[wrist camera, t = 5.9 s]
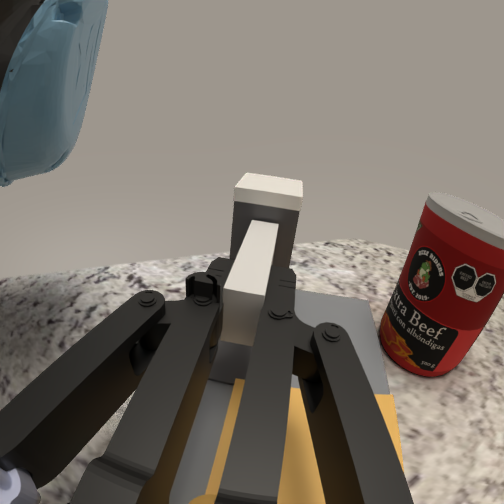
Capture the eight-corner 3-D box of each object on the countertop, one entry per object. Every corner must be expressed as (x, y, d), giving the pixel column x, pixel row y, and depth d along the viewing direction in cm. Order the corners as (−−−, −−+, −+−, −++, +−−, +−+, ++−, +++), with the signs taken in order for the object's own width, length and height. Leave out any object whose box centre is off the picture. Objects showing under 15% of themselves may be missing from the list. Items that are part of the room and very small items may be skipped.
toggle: (225, 304, 19) (234, 186, 15) (236, 275, 22) (246, 172, 18) (279, 314, 19) (302, 197, 15) (283, 283, 22) (302, 181, 18)
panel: (109, 507, 7) (93, 500, 6) (209, 284, 23) (210, 263, 22) (392, 542, 6) (414, 536, 5) (364, 309, 22) (372, 290, 21)
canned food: (360, 319, 21) (405, 184, 16) (425, 308, 23) (469, 198, 17) (408, 393, 15) (497, 242, 9) (471, 363, 16) (539, 244, 11)
